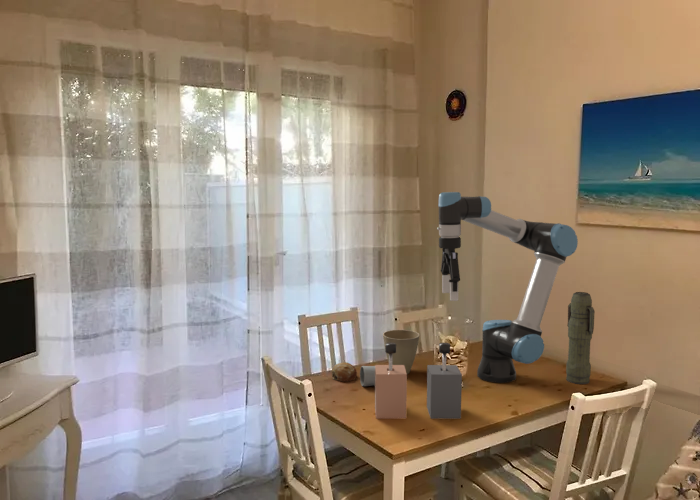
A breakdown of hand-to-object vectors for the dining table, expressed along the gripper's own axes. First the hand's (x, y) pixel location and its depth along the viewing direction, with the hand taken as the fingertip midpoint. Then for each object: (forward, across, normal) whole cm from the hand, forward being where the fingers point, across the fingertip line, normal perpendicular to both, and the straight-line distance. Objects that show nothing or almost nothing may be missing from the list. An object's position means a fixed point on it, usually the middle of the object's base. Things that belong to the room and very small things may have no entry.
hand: (450, 296), depth 204 cm
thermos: (+39, -18, +54) cm, 69 cm away
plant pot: (+38, -31, -14) cm, 51 cm away
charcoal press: (+37, +11, -5) cm, 39 cm away
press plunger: (+35, +12, -23) cm, 44 cm away
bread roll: (+37, -25, -38) cm, 59 cm away
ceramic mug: (+37, -17, -28) cm, 50 cm away
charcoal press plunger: (+36, +12, -5) cm, 38 cm away
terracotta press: (+37, +10, -23) cm, 45 cm away
